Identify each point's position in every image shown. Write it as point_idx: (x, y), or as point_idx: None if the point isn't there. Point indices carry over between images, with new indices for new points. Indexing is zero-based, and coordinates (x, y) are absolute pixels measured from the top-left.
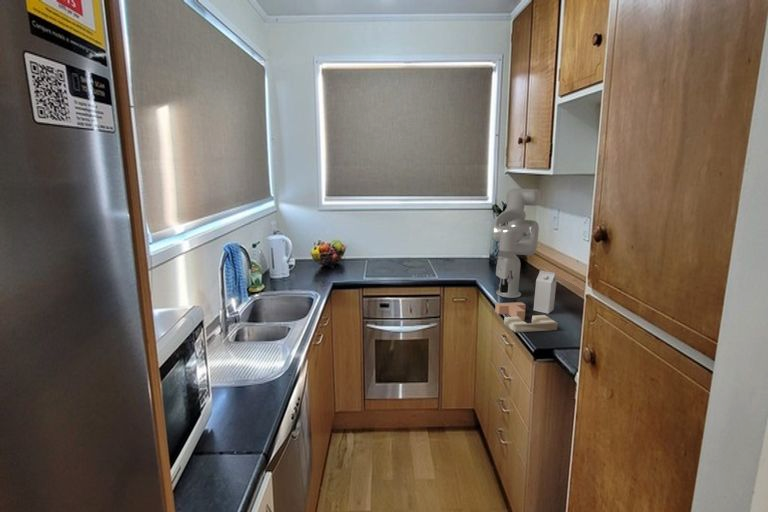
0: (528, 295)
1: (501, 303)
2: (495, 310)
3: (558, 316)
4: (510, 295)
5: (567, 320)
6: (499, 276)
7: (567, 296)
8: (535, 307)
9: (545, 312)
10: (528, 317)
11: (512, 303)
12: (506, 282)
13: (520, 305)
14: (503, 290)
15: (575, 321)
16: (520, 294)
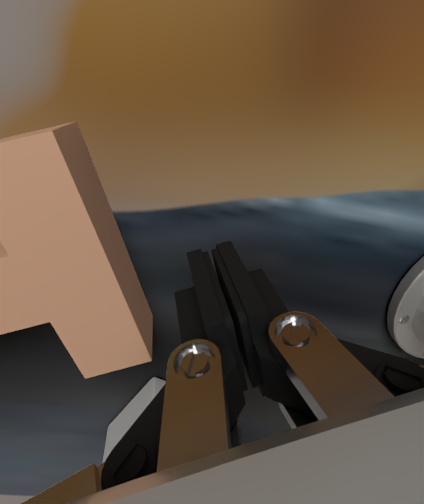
0: None
1: (66, 198)
2: (67, 123)
3: (81, 454)
4: (411, 303)
5: (29, 476)
6: (313, 466)
7: None
8: (146, 401)
9: (114, 421)
10: (5, 338)
11: (97, 297)
12: (119, 449)
13: (67, 344)
14: (188, 289)
15: (26, 495)
16: (412, 355)
